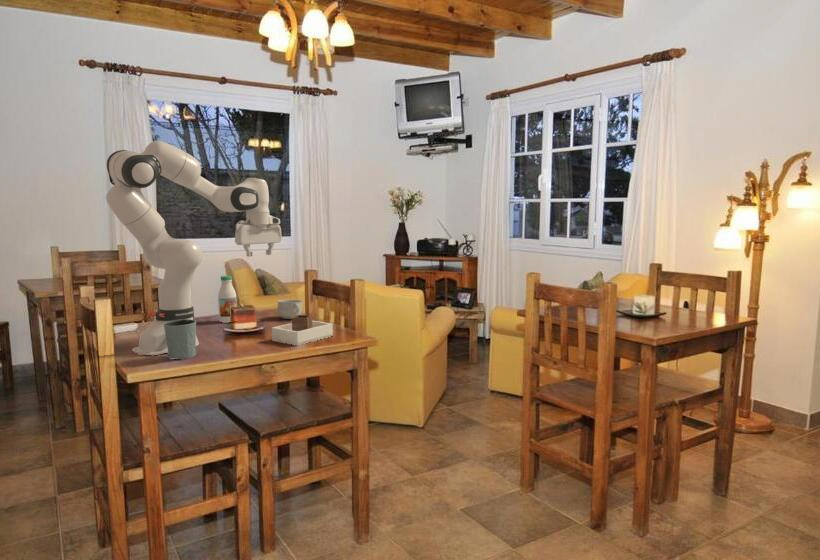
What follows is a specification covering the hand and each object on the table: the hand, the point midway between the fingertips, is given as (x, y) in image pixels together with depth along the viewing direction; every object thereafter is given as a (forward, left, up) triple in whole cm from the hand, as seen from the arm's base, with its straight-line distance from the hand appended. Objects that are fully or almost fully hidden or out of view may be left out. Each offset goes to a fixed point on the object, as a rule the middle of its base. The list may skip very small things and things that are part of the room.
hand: (259, 255), depth 233 cm
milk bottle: (+6, +30, -31) cm, 44 cm away
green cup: (-40, -7, -31) cm, 51 cm away
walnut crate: (+2, -21, -30) cm, 36 cm away
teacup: (+26, +12, -31) cm, 42 cm away
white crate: (+2, -21, -31) cm, 37 cm away
